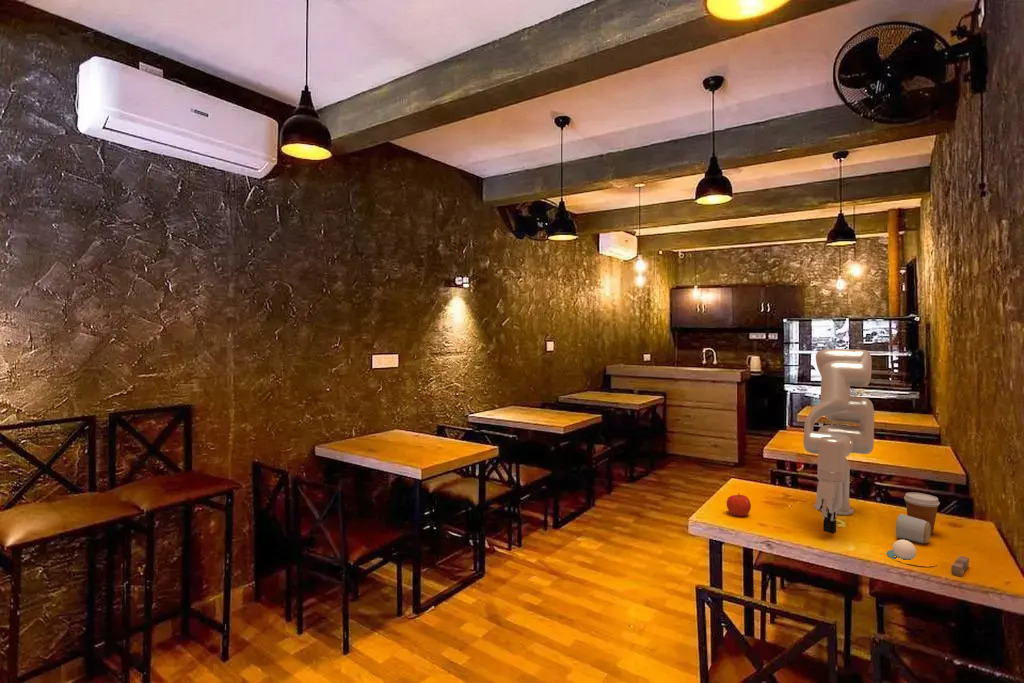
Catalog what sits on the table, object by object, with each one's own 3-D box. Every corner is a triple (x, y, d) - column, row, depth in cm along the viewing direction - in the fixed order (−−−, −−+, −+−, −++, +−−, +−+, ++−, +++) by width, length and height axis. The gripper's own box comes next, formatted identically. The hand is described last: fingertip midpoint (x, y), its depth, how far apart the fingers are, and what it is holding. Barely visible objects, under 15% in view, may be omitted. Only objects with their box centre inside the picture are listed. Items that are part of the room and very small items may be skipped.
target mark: (893, 546, 167) (893, 546, 167) (942, 559, 158) (942, 559, 158) (881, 557, 160) (881, 556, 160) (931, 571, 151) (931, 570, 151)
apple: (755, 516, 194) (756, 494, 194) (739, 519, 191) (739, 497, 190) (737, 509, 201) (738, 488, 201) (721, 512, 198) (722, 491, 198)
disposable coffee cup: (896, 528, 183) (897, 493, 183) (915, 525, 186) (916, 490, 186) (926, 539, 174) (927, 502, 174) (946, 535, 177) (946, 499, 177)
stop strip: (959, 564, 155) (959, 555, 155) (968, 566, 154) (968, 558, 154) (951, 574, 149) (951, 565, 149) (960, 576, 147) (960, 567, 147)
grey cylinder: (926, 547, 167) (927, 522, 167) (894, 539, 173) (895, 516, 173) (933, 539, 175) (933, 515, 175) (902, 532, 181) (903, 509, 181)
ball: (902, 533, 161) (923, 546, 157) (894, 547, 163) (914, 560, 159) (894, 538, 158) (914, 552, 154) (885, 553, 160) (906, 566, 156)
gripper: (827, 469, 183) (825, 523, 183) (809, 477, 173) (807, 534, 174) (852, 474, 177) (850, 529, 178) (834, 482, 168) (833, 541, 168)
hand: (829, 531), depth 176 cm, fingers closed
